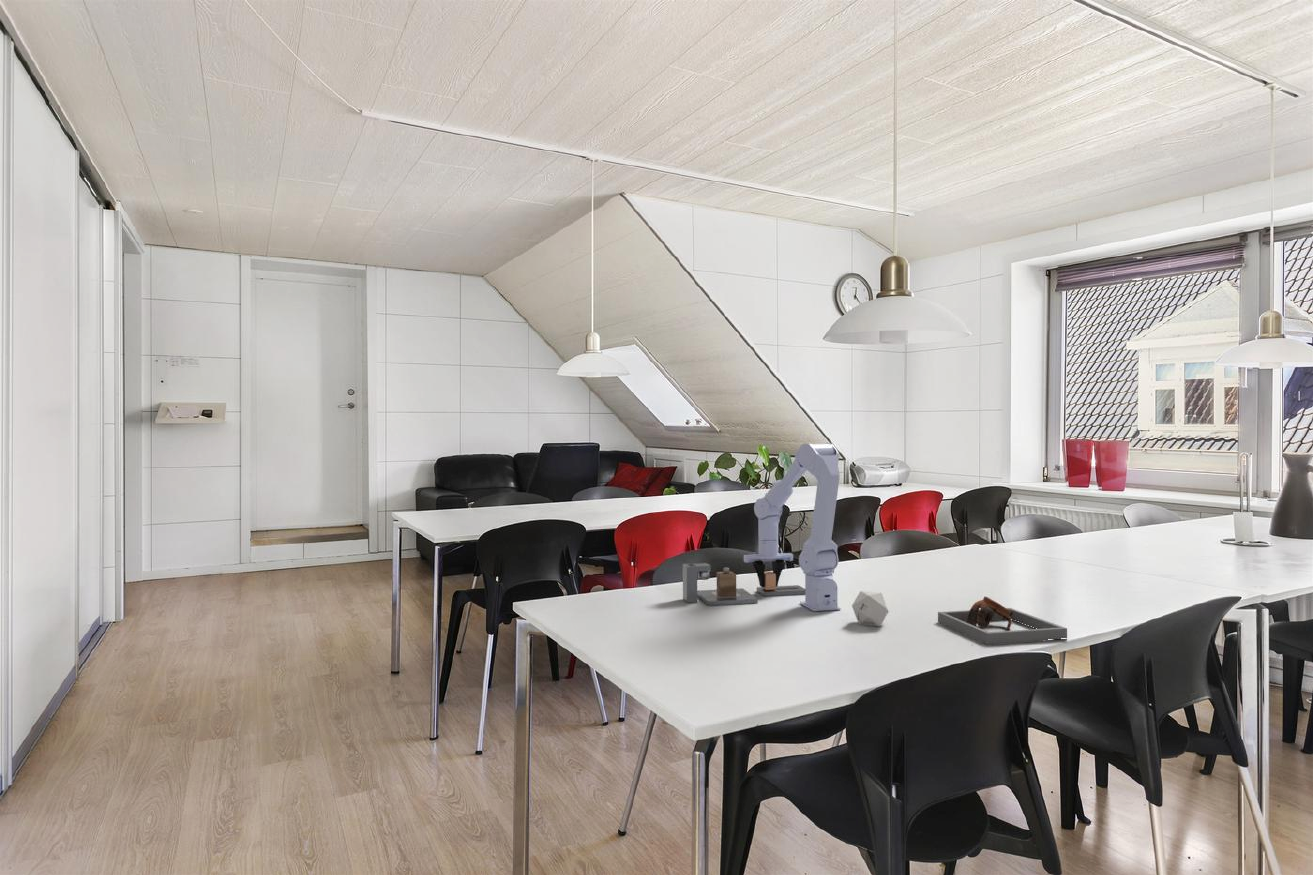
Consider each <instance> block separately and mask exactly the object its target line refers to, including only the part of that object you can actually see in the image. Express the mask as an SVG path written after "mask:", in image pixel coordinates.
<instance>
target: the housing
mask: <svg viewBox="0 0 1313 875" xmlns="http://www.w3.org/2000/svg"><path fill="white" fill-rule="evenodd" d="M722 570H723V571H716V590H717V594H718V595H720V596H721V597H723V596H736V589H737V574H736V573H735V572H733V571H730V568H729V567H723V569H722Z"/></svg>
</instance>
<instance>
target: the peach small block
mask: <svg viewBox="0 0 1313 875" xmlns="http://www.w3.org/2000/svg"><path fill="white" fill-rule="evenodd" d="M762 588H764V589H765V590H776V574H775V573H773V571H765V572H764V587H762Z"/></svg>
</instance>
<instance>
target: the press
mask: <svg viewBox="0 0 1313 875" xmlns="http://www.w3.org/2000/svg"><path fill="white" fill-rule="evenodd" d="M711 569H712V566H711V564H709V563H707V562H701V563H693V562H692V563H682V599H683V601H684V602H685V603H686V604H692V603H698V598H699V599H700V600H702V601H703V603H704V604H706V605H707V606H708V607H711V606H714V607H715V606H728V605H729V606H730V605H731V606H732V605H746V604H758V601H759V599H758V597H756V596H754V595H753V594H751V593H750V592H748V591H747V590H746V589H744V588H736V596H723V597H721V596H720V595H718V594H717V589H705V590H704V589H703V590H699V589H698V580H702V581H707V580H710V572H711V571H712V570H711Z"/></svg>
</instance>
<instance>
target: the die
mask: <svg viewBox="0 0 1313 875" xmlns="http://www.w3.org/2000/svg"><path fill="white" fill-rule="evenodd" d="M851 607H852V609H853V613H854V615H855V618H856V620H857V623H858V626H860V625H861V626H872V627H881V626H882V625H883V622H884V621H885V619H886V617H887V615H888V614H889V608H888V606H887V604H886V600H885V598H884V595H883V593H882V592H877V591H865V590H864V591H863V590H861V591H859V593H858V595H857V596H856V597H855V599H854V602H853V603H852V605H851Z"/></svg>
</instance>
